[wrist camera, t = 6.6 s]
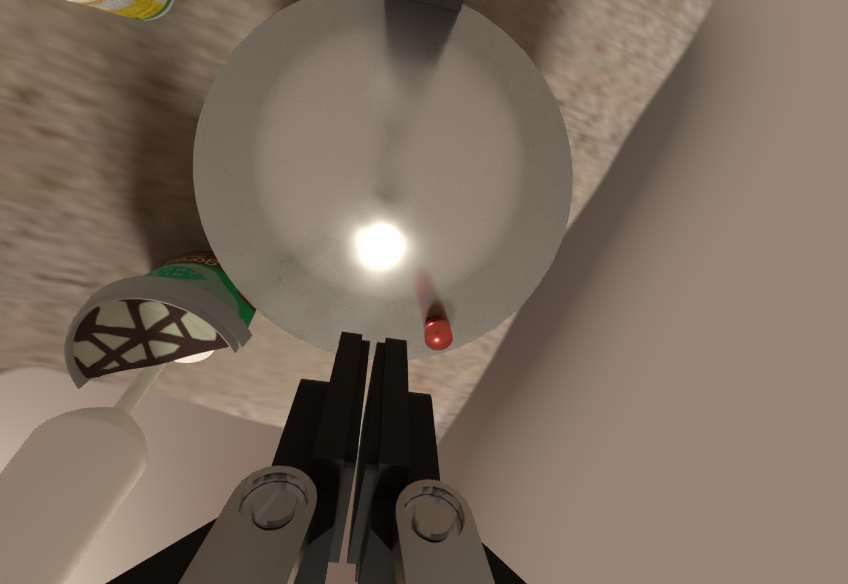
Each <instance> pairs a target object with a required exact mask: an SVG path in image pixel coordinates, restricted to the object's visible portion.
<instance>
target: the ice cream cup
mask: <svg viewBox="0 0 848 584" xmlns="http://www.w3.org/2000/svg"><path fill="white" fill-rule="evenodd" d="M255 312H256V308H255V307H254V306H253V305H252V304H251V303H250V302H249V301H248V300H247V299H246V298H245V297H244V296H243V295H242V294H241V292H240V291H239V290H238V289H237V288H236V287H235V285H234V284H233V283H232V281H231V280H230V278H229V277H228V276H227V274H226V273H225V271H224V270H223V269H222V267H221V265H220V263H219V261H218V260H217V258H216V256H215V254H214V252H212V251H193V252H188V253H185V254H182V255H180V256H178V257H176V258H174V259H172V260H171V261H169V262H167V263H165V264H164V265H162V266H160V267H158V268H157V269H155V270H153V271H151V272H150V273H148V274H146V275H144V276H137V277H131V278H125V279H122V280H119V281H116V282H113V283H110V284H109V285H107V286H105V287H103V288H101V289H100V290H98V291H97V292H96V293H95V294H94V295H93V296H91V297H90V299H89V300H88V301H87V302H86V304H85V305H84V306H83V307H82V309H81V310H80V311H79V313H78V314H77V315H76V316H75V318H74V319H73V321H72V323H71V326H70V328H69V332H68V334H67V336H66V341H65V346H64V352H65V361H66V365H67V369H68V371H69V374H70V376H71V378H72V380H73V382H74V383H75V385H76V386H77V388H78V389H79V388H81V387H82V386H83V385H84V384H85V383H87V382H88V381H89V380H90V379H91V378H94V377H100V376H103V375H106V374H110V373H114V372H119V371H124V370H129V369H136V368H143V367H150V366H156V365H160V364H164V363H167V362H171V361H174V360H178V359H181V358H184V357H188V356H192V355H195V354H199V353H204V352H208V351H212V350H217V349H221V348H226V347H230V348H231V350H232V351H233V353H234V354H235V353H236V351H237V350H238V349H239V348H241V347H243V346H244V345H245V343H246V342H247V341H248V340H249V339H250V338H251V337H252V334H251V333H250V331H249V329H248V327H249V325H250V322H251V320H252V318H253V316H254V314H255Z"/></svg>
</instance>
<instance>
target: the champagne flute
mask: <svg viewBox="0 0 848 584" xmlns="http://www.w3.org/2000/svg"><path fill="white" fill-rule="evenodd" d="M213 351H214V350H212V351H208V352H204V353H199V354H195V355H192V356H188V357H184V358H181V359H178V360H174V361H176V362H183V363H191V362H197V361H201V360H203V359H205V358H207V357H208V356H210V355H211V354H212V353H213ZM165 365H166V363H164V364H160V365H156V366H150V367H144V368H143V370H142V371H141V372H140V374H139V375H138V376H137V378H136V379H135V380H134V381H133V383H132V384H131V385H130V387H129V388H128V389H127V391H126V392H125V393H124V394H123V396H122V397H121V398H120V400H119V401H118V402H117V403H116V405H115V406H114V407H101V408H100V407H98V408H84V409H78V410H74V411H70V412H66V413H64V414H61V415H59V416H56V417H54V418H51V419H49V420H47V421H45V422H44V423H42V424H41V425H40V426H38V427H37V428H36V429H34V431H33V432H32V433H31V434H30V436H29V437H28V438H27V440H26V441H25V442H24V444H23V445H22V446H21V448H20V449H19V450H18V451H17V453H16V454H15V455H14V457H13V458H12V459H11V460H10V462H9V463H8V464H7V466H6V467H5V468H4V470H3V471H2V472H1V474H0V584H64V583H65V582H66V580H67V579H68V578H69V576H70V575H71V573H72V572H73V571H74V569H75V568H76V566H77V565H78V564H79V562H80V561H81V559H82V558H83V557H84V555H85V554H86V552H87V551H88V549H89V548H90V547H91V545H92V544H93V543H94V541H95V540H96V539H97V537H98V536H99V534H100V533H101V531H102V530H103V529H104V527H105V526H106V525H107V523H108V522H109V520H110V519H111V518H112V516H113V515H114V513H115V512H116V511H117V509H118V508H119V506H120V505H121V504H122V502H123V501H124V499H125V498H126V497H127V495H128V494H129V492H130V491H131V490H132V488H133V487H134V485H135V484H136V482H137V481H138V480H139V478H140V477H141V476H142V474H143V472H144V470H145V468H146V465H147V459H148V453H147V444H146V440H145V437H144V434H143V432H142V430H141V429H140V427H139V426H138V424H137V423H136V421H135V420H134V419H133V417H132V416H131V415H130V414H131V412H132V411H133V410H134V408H135V407H136V405H137V404H138V403H139V401H140V400H141V398H142V397H143V395H144V394H145V393H146V391H147V390H148V389H149V387H150V386H151V384H152V383H153V382H154V380H155V379H156V377H157V376H158V374H159V373H160V372H161V370H162V369H163V367H164V366H165Z"/></svg>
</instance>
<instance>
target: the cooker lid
mask: <svg viewBox="0 0 848 584" xmlns="http://www.w3.org/2000/svg"><path fill="white" fill-rule="evenodd" d="M462 3H463V0H299V1H297V2H295V3H293V4H291V5H290V6H288V7H286V8H284V9H282V10H280V11H278V12H277V13H275V14H274V15H273V16H271V17H270V18H268V19H267V20H266V21H264V22H263V23H262V24H260V25H259V26H258V27H256V28H255V29H254V30H253V31H252V32H251V33H250V34H249V35H248V36H247V37H246V38H245V39H244V40H243V41H242V42H241V43H240V44H239V45H238V46H237V47H236V48H235V49H234V51H233V52H232V54H231V55H230V56H229V58H228V59H227V61H226V62H225V64H224V65H223V66H222V68H221V69H220V71H219V72H218V74H217V76H216V78H215V80H214V82H213V84H212V86H211V88H210V90H209V92H208V94H207V96H206V98H205V102H204V105H203V108H202V111H201V114H200V118H199V121H198V124H197V130H196V136H195V143H194V149H193V181H194V190H195V198H196V204H197V207H198V211H199V215H200V219H201V223H202V226H203V229H204V231H205V234H206V236H207V239H208V241H209V244H210V246H211V249H212V250H213V252H214V254H215V256H216V258H217V260H218V261H219V263H220V265H221V267H222V269H223V270H224V271H225V273H226V274H227V276H228V277H229V278H230V280H231V281H232V283H233V284H234V285H235V287H236V288H237V289H238V290H239V291H240V292H241V294H242V295H243V296H244V297H245V298H246V299H247V300H248V301H249V302H250V303H251V304H252V305H253V306H254V307H255V308H256V309H257V310H258V311H260V312H261V313H262V314H263V315H264V316H265V317H266V318H267V319H269V320H270V321H272V322H273V323H275V324H276V325H277V326H279V327H280V328H282V329H283V330H285V331H286V332H288V333H290V334H292V335H293V336H295V337H297V338H299V339H301V340H303V341H304V342H307V343H309V344H312V345H314V346H316V347H319V348H321V349H324V350H327V351H330V352H334V353H337V349H338V345H339V340H340V336H341V332H342V331H343V332H350V333H358V334H363V336H362V340H367V341H370V348H369V357H368V360H374V355H375V349H376V344H377V342H382V343H385V339H386V337H387V338H394V339H401V340H407V358H408V360H409V359H416V358H424V357H428V356H432V355H436V354H440V353H444V352H447V351H449V350H452V349H455V348H458V347H460V346H463V345H465V344H467V343H469V342H471V341H473V340H475V339H477V338H479V337H481V336H483V335H484V334H486V333H487V332H489V331H490V330H492V329H494V328H495V327H497V326H498V325H499V324H501V323H502V322H503V321H504V320H505V319H507V318H508V317H509V316H510V315H512V314H513V313H514V312H515V311H516V310H517V309H518V308H519V307H520V306H521V305H522V304H523V303H524V302H525V301H526V300H527V299H528V297H529V296H530V295H531V293H532V292H533V291H534V290H535V288H536V287H537V286H538V284H539V283H540V282H541V280H542V279H543V277H544V275H545V274H546V272H547V270H548V269H549V267H550V265H551V264H552V262H553V259H554V257H555V255H556V253H557V251H558V248H559V246H560V244H561V241H562V238H563V235H564V231H565V228H566V225H567V221H568V216H569V210H570V204H571V198H572V176H573V172H572V161H571V151H570V145H569V140H568V136H567V132H566V127H565V123H564V120H563V118H562V115H561V113H560V110H559V107H558V105H557V102H556V99H555V97H554V95H553V93H552V92H551V90H550V88H549V86H548V84H547V83H546V81H545V79H544V77H543V75H542V74H541V72H540V71H539V70H538V68H537V67H536V66H535V64H534V63H533V62H532V60H531V59H530V58H529V56H528V55H527V54H526V52H525V51H524V50H523V49H522V48H521V47H520V46H519V45H518V44H517V43H516V42H515V41H514V40H513V39H512V38H511V37H510V36H509V35H508V34H507V33H506V32H505V31H504V30H502V29H501V28H500V27H498V26H497V25H495V24H494V23H493V22H491V21H490V20H489V19H487V18H486V17H484V16H483V15H482V14H480V13H479V12H477V11H475V10H473V9H471V8H469V7H467V6H465V5H463V4H462Z"/></svg>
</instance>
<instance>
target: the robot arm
mask: <svg viewBox="0 0 848 584" xmlns="http://www.w3.org/2000/svg"><path fill="white" fill-rule="evenodd" d="M362 336H363V334H358V333H350V332H343V331H342V332H341V336H340V340H339V345H338V349H337V353H336V357H335V362H334V366H333V370H332V374H331V378H330V382H324V381H316V380H308V379H301V381H300V383H299V386H298V389H297V392H296V395H295V398H294V401H293V404H292V407H291V410H290V413H289V416H288V419H287V422H286V424H285V427H284V430H283V433H282V436H281V439H280V443H279V445H278V448H277V451H276V454H275V457H274V460H273V463H272V466H271V467H266V468H263V469H261V470H258V471H256V472H253V473H252V474H251V475H249V476H248V477H246V478H245V479H244V480H242V481H241V483H240V484H239V485H238V486H237V488H236V489H235V490H234V491H233V493H232V495H231V497H230V498H229V500H228V501H227V503H226V505H225V506H224V508H223V510H222V511H221V513H220V515H219V516H218V518H216V519H214V520H213V521H211V522H209V523H207V524H206V525H204V526H202V527H201V528H199V529H197V530H196V531H194V532H192V533H191V534H189V535H187V536H185V537H184V538H182V539H180V540H179V541H177V542H175V543H174V544H172V545H170V546H169V547H167V548H165V549H163V550H162V551H160V552H158V553H157V554H155V555H153V556H152V557H150V558H148V559H147V560H145V561H143V562H141V563H140V564H138V565H136V566H135V567H133V568H131V569H129V570H128V571H126V572H124V573H123V574H121V575H119V576H118V577H116V578H114V579H113V580H111V581H110V582H107V583H106V584H325V580H326V574H327V567H328V562H334V563H339V558H340V552H341V546H342V541H343V535H344V529H345V524H346V518H347V512H348V506H349V501H350V495H351V490H352V483H353V478H354V472H355V466H356V459H357V453H358V444H359V436H360V427H361V418H362V410H363V401H364V392H365V383H366V375H367V366H368V357H369V348H370V341H367V340H362ZM347 563H350V564H356V575H355V576H356V577H355V582H358V584H527V583H525V582H524V581H523V580H522V579H521V578H520V577H519V576H518V575H517V574H516V573H515V572H513V571H512V570H511V569H510V568H509V567H508V566H507V565H506V564H505V563H504V562H503V561H502V560H501V559H499V558H498V557H497V556H496V555H495V554H494V553H493V552H492V551H491V550H490V549H489V548H488V547H487V546H485V545H484V544H483V543H482V542H481V539H480V536H479V533H478V530H477V527H476V524H475V521H474V517H473V514H472V511H471V509H470V507H469V505H468V503H467V501H466V499H465V498H464V497H463V496H462V495H461V494H460V493H459V491H457V490H456V489H454V488H453V487H451V486H450V485H448V484H445V483H443V482H441V481H440V475H439V465H438V456H437V445H436V436H435V426H434V416H433V407H432V399H431V395H430V394H423V393H415V392H408V358H407V340H401V339H394V338H387V337H386V339H385V343H382V342H377V344H376V349H375V355H374V361H373V366H372V372H371V378H370V383H369V389H368V395H367V401H366V406H365V412H364V418H363V424H362V431H361V439H360V448H359V457H358V467H357V475H356V484H355V493H354V503H353V512H352V520H351V530H350V539H349V547H348V557H347Z"/></svg>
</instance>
